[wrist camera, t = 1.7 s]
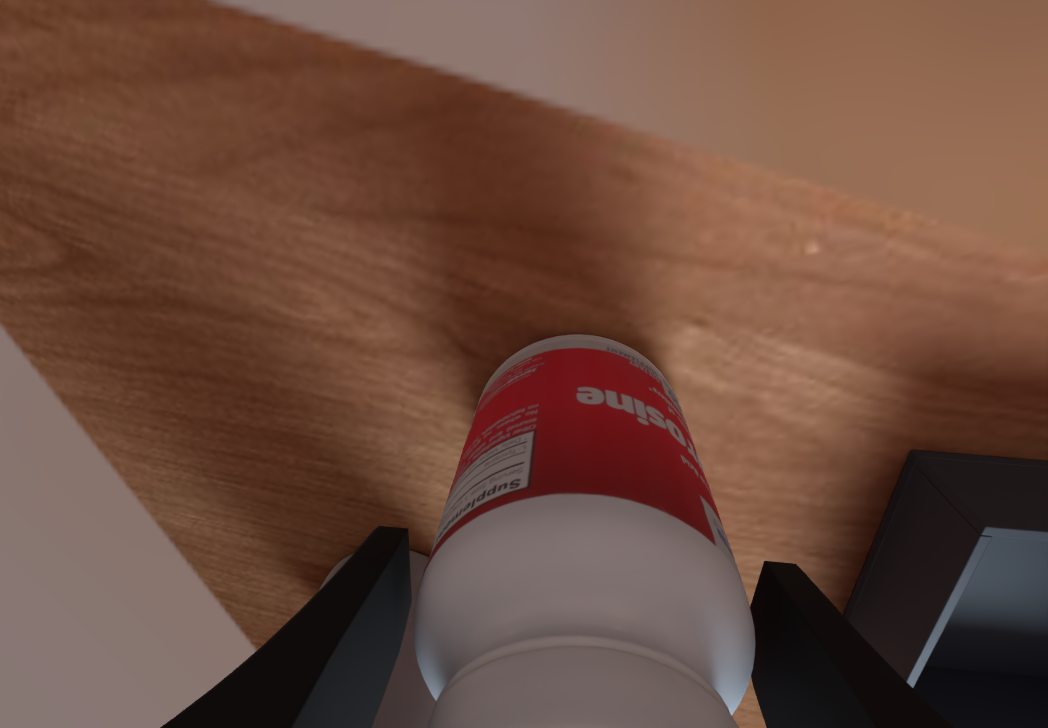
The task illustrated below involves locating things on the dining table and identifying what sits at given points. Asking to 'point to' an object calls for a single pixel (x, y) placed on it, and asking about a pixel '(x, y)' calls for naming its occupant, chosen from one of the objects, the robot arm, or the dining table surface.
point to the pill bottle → (581, 557)
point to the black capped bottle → (404, 668)
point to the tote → (963, 587)
